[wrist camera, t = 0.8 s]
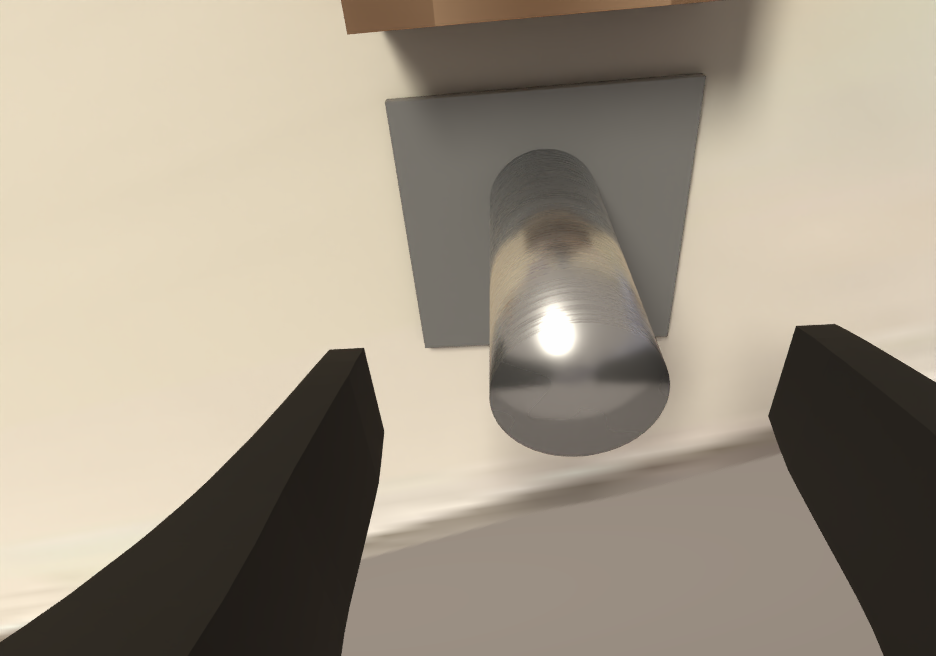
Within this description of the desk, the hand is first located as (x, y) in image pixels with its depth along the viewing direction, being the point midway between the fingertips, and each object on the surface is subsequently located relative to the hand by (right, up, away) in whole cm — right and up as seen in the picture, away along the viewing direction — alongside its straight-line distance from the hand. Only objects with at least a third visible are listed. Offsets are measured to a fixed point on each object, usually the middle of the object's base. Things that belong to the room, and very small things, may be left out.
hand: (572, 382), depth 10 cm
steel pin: (0, +4, +6) cm, 8 cm away
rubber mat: (0, +4, +7) cm, 8 cm away
